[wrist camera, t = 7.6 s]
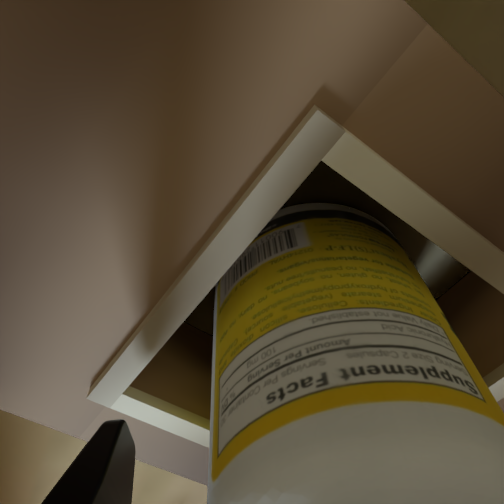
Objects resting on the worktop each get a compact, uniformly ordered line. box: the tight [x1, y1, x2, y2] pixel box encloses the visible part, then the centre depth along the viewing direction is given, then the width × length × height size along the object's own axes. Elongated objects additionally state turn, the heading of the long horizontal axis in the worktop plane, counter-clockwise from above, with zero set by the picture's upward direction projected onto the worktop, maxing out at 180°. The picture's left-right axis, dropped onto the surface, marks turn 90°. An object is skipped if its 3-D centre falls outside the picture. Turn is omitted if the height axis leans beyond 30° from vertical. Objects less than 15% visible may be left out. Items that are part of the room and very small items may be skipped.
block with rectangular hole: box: [0, 0, 504, 486], centre depth 11 cm, size 20×12×3 cm, turn 54°
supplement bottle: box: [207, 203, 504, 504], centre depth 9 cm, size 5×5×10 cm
